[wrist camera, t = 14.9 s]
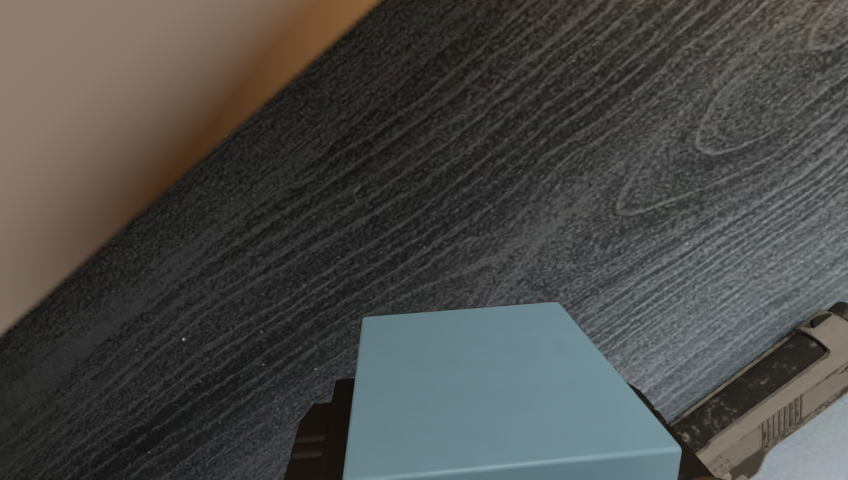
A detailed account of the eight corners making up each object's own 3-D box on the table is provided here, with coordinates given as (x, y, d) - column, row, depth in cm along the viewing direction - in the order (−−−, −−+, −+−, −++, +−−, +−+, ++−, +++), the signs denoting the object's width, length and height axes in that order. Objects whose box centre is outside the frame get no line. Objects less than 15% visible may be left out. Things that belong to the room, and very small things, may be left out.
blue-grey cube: (362, 315, 10) (340, 482, 6) (558, 300, 10) (684, 448, 6) (378, 474, 11) (371, 706, 7) (550, 457, 12) (647, 671, 7)
